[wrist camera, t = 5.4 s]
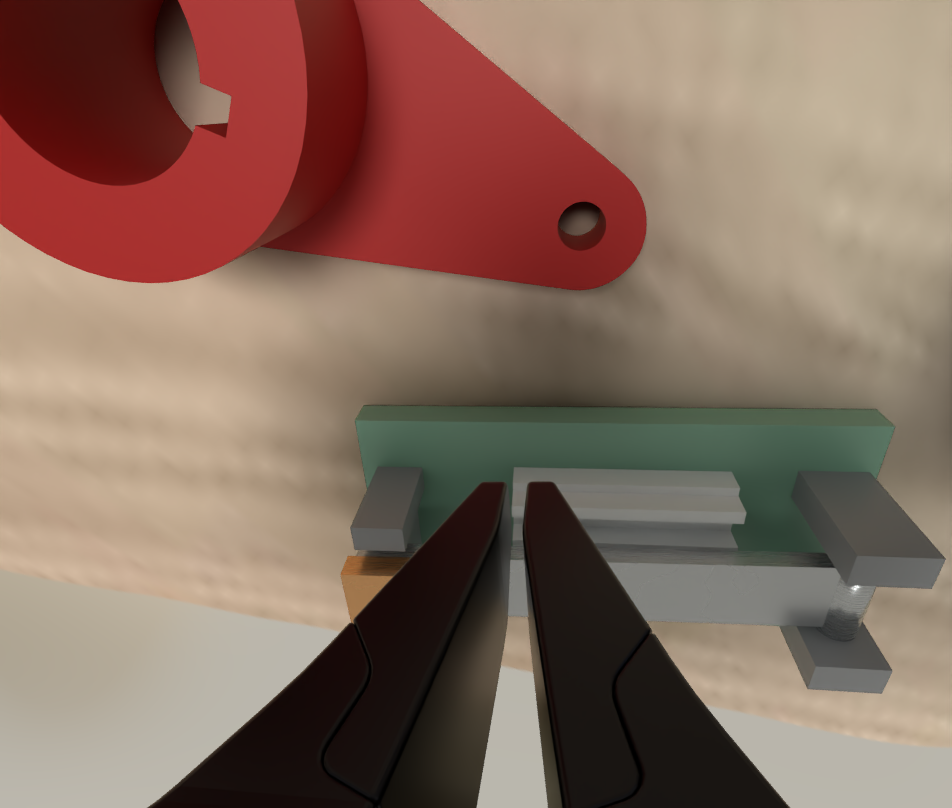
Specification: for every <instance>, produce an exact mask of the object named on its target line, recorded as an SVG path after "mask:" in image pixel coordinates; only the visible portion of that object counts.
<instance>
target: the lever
mask: <svg viewBox="0 0 952 808" xmlns="http://www.w3.org/2000/svg"><path fill="white" fill-rule="evenodd" d="M163 1H164V0H0V224H1V225H3V226H4V227H5V228H7V229H8V230H9V231H11V232H12V233H14V234H15V235H17V236H18V237H19V238H21V239H22V240H24V241H25V242H27V243H29V244H30V245H32V246H34V247H35V248H37V249H39V250H40V251H42V252H44V253H46V254H47V255H50V256H52V257H54V258H56V259H58V260H60V261H62V262H64V263H66V264H68V265H71V266H73V267H76V268H79V269H81V270H84V271H86V272H89V273H93V274H96V275H100V276H104V277H107V278H112V279H117V280H123V281H128V282H141V283H163V282H173V281H179V280H186V279H190V278H193V277H196V276H200V275H203V274H206V273H208V272H210V271H213V270H215V269H217V268H219V267H222V266H224V265H225V264H227V263H229V262H231V261H233V260H235V259H237V258H239V257H241V256H243V255H245V254H246V253H248V252H250V251H252V250H254V249H256V248H258V247H267V248H274V249H281V250H288V251H295V252H303V253H310V254H317V255H324V256H331V257H339V258H346V259H353V260H360V261H367V262H375V263H382V264H389V265H396V266H403V267H411V268H418V269H425V270H432V271H439V272H447V273H454V274H461V275H468V276H475V277H483V278H490V279H497V280H504V281H511V282H519V283H526V284H533V285H540V286H547V287H555V288H562V289H569V290H587V289H592V288H597V287H600V286H603V285H605V284H607V283H609V282H611V281H613V280H614V279H616V278H617V277H619V276H620V275H621V274H623V273H624V272H625V271H626V270H627V269H628V268H629V267H630V266H631V265H632V263H633V262H634V261H635V260H636V258H637V257H638V255H639V253H640V251H641V249H642V246H643V243H644V239H645V234H646V211H645V207H644V203H643V200H642V198H641V196H640V194H639V192H638V190H637V188H636V187H635V185H634V184H633V183H632V182H631V181H630V179H628V178H627V177H626V176H625V175H624V174H623V173H622V172H621V171H620V170H619V169H618V168H617V167H615V166H614V165H613V164H612V163H611V162H610V161H608V160H607V159H606V158H605V157H604V156H603V155H601V154H600V153H599V152H598V151H597V150H595V149H594V148H593V147H592V146H591V145H590V144H588V143H587V142H586V141H585V140H584V139H582V138H581V137H580V136H579V135H578V134H577V133H575V132H574V131H573V130H572V129H571V128H569V127H568V126H567V125H566V124H565V123H564V122H562V121H561V120H560V119H559V118H558V117H556V116H555V115H554V114H553V113H552V112H551V111H549V110H548V109H547V108H546V107H545V106H543V105H542V104H541V103H540V102H539V101H538V100H536V99H535V98H534V97H533V96H532V95H530V94H529V93H528V92H527V91H526V90H525V89H523V88H522V87H521V86H520V85H519V84H517V83H516V82H515V81H514V80H513V79H512V78H510V77H509V76H508V75H507V74H506V73H504V72H503V71H502V70H501V69H500V68H499V67H497V66H496V65H495V64H494V63H493V62H491V61H490V60H489V59H488V58H487V57H486V56H484V55H483V54H482V53H481V52H480V51H478V50H477V49H476V48H475V47H474V46H473V45H471V44H470V43H469V42H468V41H467V40H465V39H464V38H463V37H462V36H461V35H460V34H458V33H457V32H456V31H455V30H454V29H452V28H451V27H450V26H449V25H448V24H447V23H445V22H444V21H443V20H442V19H441V18H439V17H438V16H437V15H436V14H435V13H434V12H432V11H431V10H430V9H429V8H428V7H426V6H425V5H424V4H423V3H422V2H421V1H419V0H178V1H179V3H180V6H181V8H182V10H183V12H184V15H185V17H186V19H187V22H188V25H189V28H190V31H191V34H192V37H193V41H194V45H195V48H196V53H197V58H198V64H199V72H200V83H202V84H204V85H207V86H209V87H211V88H214V89H216V90H219V91H221V92H223V93H226V94H228V95H230V96H232V98H231V105H230V112H229V120H228V123H222V124H209V125H196V126H195V129H194V132H192V131H191V130H190V129H189V128H188V127H187V126H186V125H185V124H184V122H183V121H182V120H181V119H180V117H179V116H178V114H177V113H176V111H175V110H174V108H173V107H172V105H171V103H170V101H169V100H168V97H167V95H166V93H165V91H164V89H163V86H162V83H161V80H160V77H159V74H158V70H157V65H156V59H155V49H154V37H155V27H156V22H157V18H158V14H159V11H160V8H161V6H162V4H163ZM577 202H590V203H593V204H595V205H596V206H598V207H599V209H600V215H599V219H598V222H597V224H596V225H595V227H594V228H593V229H592V230H591V231H589V232H588V233H586V234H584V235H580V236H573V235H569V234H567V233H565V232H564V231H563V230H562V229H561V228H560V227H559V225H558V221H559V218H560V216H561V214H562V213H563V211H564V210H565V209H566V208H567V207H569V206H570V205H572V204H574V203H577Z"/></svg>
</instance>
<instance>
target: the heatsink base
mask: <svg viewBox="0 0 952 808" xmlns="http://www.w3.org/2000/svg"><path fill="white" fill-rule="evenodd" d="M355 424H356V430H357V435H358V441H359V447H360V452H361V458H362V464H363V469H364V475H365V481H366V486H367V491H366V494H365V496H364V498H363V500H362V503H361V505H360V507H359V509H358V512H357V514H356V516H355V518H354V520H353V523H352V525H351V527H350V529H351V534H352V538H353V543H354V548H355V550H374V551H400V552H405V551H406V548H407V545H408V544H424V543H425V542H426V541H427V540H428V538H429V537H430V536H431V535H432V534H433V533H434V532H435V531H436V530H437V529H438V528H439V527H440V526H441V524H442V523H443V522H444V521H445V520H446V519H447V518H448V517H449V516H450V515H451V514H452V513H453V512H454V511H455V509H456V508H457V507H458V506H459V505H460V504H461V503H462V502H463V501H464V500H465V499H466V498H467V497H468V496H469V494H470V493H471V492H472V491H473V490H474V489H475V488H476V487H477V486H478V485H479V484H480V483H482V482H506V483H507V485H508V490H509V501H510V513H511V529H512V536H511V546H523V534H522V531H523V518H524V508H525V499H526V490H527V484H528V483H529V482H532V481H551V482H554V483H555V484H556V486H557V487H558V489H559V490H560V492H561V493H562V495H563V496H564V498H565V499H566V501H567V502H568V504H569V505H570V507H571V508H572V510H573V511H574V513H575V514H576V516H577V518H578V519H579V521H580V522H581V524H582V525H583V527H584V528H585V530H586V531H587V533H588V534H589V536H590V537H591V539H592V540H593V542H594V543H595V545H596V546H597V548H631V549H676V550H721V551H766V552H810V553H826V554H827V555H828V557H829V558H830V560H831V562H832V563H833V565H834V566H835V568H836V570H837V571H838V573H839V574H840V576H841V578H842V579H843V581H844V582H845V584H846V585H852V586H876V587H900V588H924V589H932V587H933V585H934V583H935V581H936V579H937V577H938V575H939V573H940V570H941V568H942V566H943V564H944V562H945V560H946V559H945V557H944V556H943V555H942V554H941V553H940V552H939V551H938V549H937V548H936V547H935V546H934V545H933V544H932V543H931V541H930V540H929V539H928V538H927V537H926V536H925V535H924V533H923V532H922V531H921V530H920V529H919V528H918V527H917V526H916V524H915V523H914V522H913V521H912V520H911V519H910V518H909V516H908V515H907V514H906V513H905V512H904V511H903V510H902V508H901V507H900V506H899V505H898V504H897V503H896V502H895V500H894V499H893V498H892V497H891V496H890V495H889V494H888V492H887V491H886V490H885V489H884V488H883V487H882V486H881V484H880V483H879V482H878V481H877V480H876V479H877V476H878V473H879V470H880V468H881V465H882V462H883V459H884V457H885V454H886V451H887V448H888V445H889V443H890V440H891V437H892V434H893V432H894V429H895V426H894V425H893V424H892V423H891V422H890V421H889V420H888V419H887V418H885V417H884V416H883V415H882V414H881V413H880V412H879V411H878V410H877V409H756V408H630V407H504V406H379V405H364V406H363V408H362V409H361V411H360V413H359V414H358V416H357V418H356V420H355ZM772 626H779V627H780V629H781V631H782V633H783V635H784V638H785V640H786V642H787V644H788V647H789V649H790V651H791V653H792V656H793V658H794V660H795V662H796V664H797V667H798V669H799V671H800V673H801V676H802V678H803V680H804V682H805V684H806V687H807V689H815V690H831V691H847V692H864V693H880V694H882V692H883V690H884V688H885V686H886V684H887V682H888V680H889V678H890V675H891V673H892V669H891V667H890V666H889V664H888V663H887V661H886V659H885V658H884V656H883V654H882V653H881V651H880V650H879V648H878V646H877V645H876V643H875V641H874V640H873V638H872V636H871V635H870V633H869V632H868V630H867V628H866V627H865V625H864V623H863V622H862V623H861V625H860V628H859V630H858V633H857V635H856V637H855V638H854V639H853V640H851V641H848V642H840V641H835V640H832V639H830V638H828V637H826V636H824V635H823V634H821V633H820V632H819V631H818V630H817V629H816V628H815V627H810V626H781V625H772Z"/></svg>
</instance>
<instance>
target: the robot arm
mask: <svg viewBox="0 0 952 808" xmlns="http://www.w3.org/2000/svg"><path fill="white" fill-rule="evenodd" d="M522 534H523V548H524V563H525V577H526V592H527V606H528V620H529V634H530V645H531V654H532V664H533V673H534V682H535V691H536V701H537V709H538V719H539V728H540V737H541V746H542V756H543V765H544V774H545V784H546V792H547V802H548V808H790V807H789V806H788V805H787V804H786V802H785V801H784V800H783V799H782V798H781V796H780V795H779V794H778V793H777V792H776V790H775V789H774V788H773V787H772V786H771V784H769V782H768V781H767V780H766V779H765V778H764V776H763V775H762V774H761V773H760V772H759V770H758V769H757V768H756V767H755V765H754V764H753V763H752V762H751V761H750V760H749V758H748V757H747V756H746V755H745V754H744V753H743V751H742V750H741V749H740V748H739V746H738V745H737V744H736V743H735V742H734V740H733V739H732V738H731V737H730V736H729V734H728V733H727V732H726V731H725V730H724V728H723V727H722V726H721V725H720V724H719V722H718V721H717V720H716V718H715V717H714V716H713V715H712V713H711V712H710V711H709V710H708V708H707V707H706V706H705V705H704V703H703V702H702V701H701V700H700V698H699V697H698V696H697V695H696V693H695V692H694V691H693V689H692V688H691V686H690V685H689V684H688V682H687V681H686V679H685V678H684V676H683V675H682V674H681V672H680V671H679V669H678V668H677V667H676V665H675V664H674V662H673V661H672V660H671V658H670V657H669V655H668V654H667V652H666V651H665V649H664V647H663V646H662V644H661V643H660V641H659V640H658V638H657V637H656V635H654V634H652V630H651V628H650V627H649V625H648V624H647V622H646V621H645V619H644V618H643V616H642V615H641V613H640V612H639V610H638V609H637V607H636V605H635V604H634V602H633V601H632V599H631V598H630V596H629V595H628V593H627V592H626V590H625V589H624V587H623V586H622V584H621V583H620V581H619V580H618V578H617V577H616V575H615V574H614V572H613V571H612V569H611V568H610V566H609V565H608V563H607V561H606V560H605V558H604V557H603V555H602V554H601V552H600V551H599V549H598V548H597V546H596V545H595V543H594V542H593V540H592V539H591V537H590V536H589V534H588V533H587V531H586V530H585V528H584V527H583V525H582V524H581V522H580V521H579V519H578V518H577V516H576V514H575V513H574V511H573V510H572V508H571V507H570V505H569V504H568V502H567V501H566V499H565V498H564V496H563V495H562V493H561V492H560V490H559V489H558V487H557V486H556V484H555V483H554V482H551V481H532V482H529V483H528V484H527V490H526V499H525V508H524V518H523V531H522ZM511 536H512V529H511V513H510V501H509V490H508V485H507V483H506V482H482V483H480V484H479V485H478V486H477V487H476V488H475V489H474V490H473V491H472V492H471V493H470V494H469V496H468V497H467V498H466V499H465V500H464V501H463V502H462V503H461V504H460V505H459V506H458V507H457V508H456V509H455V511H454V512H453V513H452V514H451V515H450V516H449V517H448V518H447V519H446V520H445V521H444V522H443V523H442V524H441V526H440V527H439V528H438V529H437V530H436V531H435V532H434V533H433V534H432V535H431V536H430V537H429V538H428V540H427V541H426V542H425V543H424V544H423V545H422V546H421V547H420V548H419V549H418V550H417V551H416V552H415V553H414V555H413V556H412V557H411V558H410V559H409V560H408V561H407V562H406V563H405V564H404V565H403V566H402V567H401V568H400V570H399V571H398V572H397V573H396V574H395V575H394V576H393V577H392V578H391V579H390V580H389V581H388V582H387V583H386V585H385V586H384V587H383V588H382V589H381V590H380V591H379V592H378V593H377V594H376V595H375V596H374V597H373V598H372V600H371V601H370V602H369V603H368V604H367V605H366V606H365V607H364V608H363V609H362V610H361V611H360V612H359V613H358V615H357V616H356V617H355V618H354V619H353V623H349V624H348V625H347V626H346V627H345V628H344V629H343V630H342V631H341V632H340V634H339V635H338V636H337V637H336V638H335V639H334V640H333V641H332V642H331V643H330V644H329V645H328V646H327V647H326V648H325V649H324V650H323V651H322V652H321V653H320V654H319V655H318V656H317V658H315V659H314V660H313V662H311V663H310V665H308V666H307V668H306V669H305V670H304V671H303V672H301V674H300V675H298V676H297V677H296V678H295V679H294V680H293V681H292V682H291V683H290V684H289V685H287V686H286V687H285V688H284V689H283V690H282V691H281V692H280V693H279V694H278V695H277V696H276V697H274V698H273V699H272V700H271V701H270V702H269V703H268V704H267V705H266V706H265V707H263V708H262V709H261V710H260V711H259V712H258V713H257V714H256V715H254V717H252V718H251V719H250V720H249V721H248V722H247V723H245V724H244V725H243V726H242V727H241V728H240V729H239V730H238V731H237V732H235V733H234V734H233V735H232V736H231V737H230V738H229V739H227V741H225V742H224V743H223V744H222V745H221V746H219V748H217V749H216V750H215V751H214V752H213V753H212V754H211V755H209V756H208V757H207V758H206V759H205V760H204V761H203V762H201V763H200V764H199V765H198V766H197V767H196V768H195V769H194V770H192V771H191V772H190V773H189V774H188V775H187V776H186V777H185V778H184V779H182V780H181V781H180V782H179V783H178V784H177V785H175V787H173V788H172V789H171V790H169V791H168V792H167V793H166V794H165V795H163V796H162V797H161V798H160V799H159V800H157V801H156V802H155V803H153V804H152V805H150V806H149V807H148V808H476V807H477V801H478V795H479V790H480V784H481V778H482V772H483V766H484V760H485V754H486V749H487V743H488V737H489V731H490V725H491V719H492V713H493V707H494V701H495V696H496V690H497V684H498V678H499V672H500V667H501V661H502V655H503V649H504V643H505V637H506V629H507V621H508V606H509V583H510V560H511Z"/></svg>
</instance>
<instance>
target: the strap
mask: <svg viewBox="0 0 952 808" xmlns="http://www.w3.org/2000/svg"><path fill="white" fill-rule="evenodd" d="M422 545H423V544H408V545H407V548H406V551H405V552H400V551H374V550H358V553H357V555H356V556H348V557H347V560H346V562H345V565H344V567H343V570H342V572H341V579H342V584H343V588H344V593H345V597H346V602H347V606H348V610H349V615H350V619H351V623H353V619H354V618H355V617H356V616H357V615H358V613H359V612H360V611H361V610H362V609H363V608H364V607H365V606H366V605H367V604H368V603H369V602H370V601H371V600H372V598H373V597H374V596H375V595H376V594H377V593H378V592H379V591H380V590H381V589H382V588H383V587H384V586H385V585H386V583H387V582H388V581H389V580H390V579H391V578H392V577H393V576H394V575H395V574H396V573H397V572H398V571H399V570H400V568H401V567H402V566H403V565H404V564H405V563H406V562H407V561H408V560H409V559H410V558H411V557H412V556H413V555H414V553H415V552H416V551H417V550H418V549H419V548H420V547H421V546H422ZM598 549H599V551H600V552H601V554H602V555H603V557H604V558H605V560H606V561H607V563H608V565H609V566H610V568H611V569H612V571H613V572H614V574H615V575H616V577H617V578H618V580H619V581H620V583H621V584H622V586H623V587H624V589H625V590H626V592H627V593H628V595H629V596H630V598H631V599H632V601H633V602H634V604H635V605H636V607H637V609H638V610H639V612H640V613H641V615H642V616H643V618H644V619H645V621H665V622H694V623H723V624H752V625H781V626H810V627H815V628H816V629H817V630H818V631H819V632H820V633H821V634H823V635H824V636H826V637H828V638H830V639H832V640H835V641H840V642H848V641H851V640H853V639H854V638H855V637H856V635H857V633H858V630H859V628H860V625H861V623H862V621H863V618H864V616H865V613H866V611H867V608H868V606H869V603H870V601H871V599H872V596H873V594H874V591H875V589H876V586H852V585H846V584H845V582H844V581H843V579H842V578H841V576H840V574H839V573H838V571H837V570H836V568H835V566H834V565H833V563H832V562H831V560H830V558H829V557H828V555H827V554H826V553H810V552H766V551H721V550H676V549H631V548H598ZM508 616H521V617H528V606H527V592H526V577H525V563H524V548H523V546H511V560H510V583H509V606H508Z"/></svg>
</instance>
